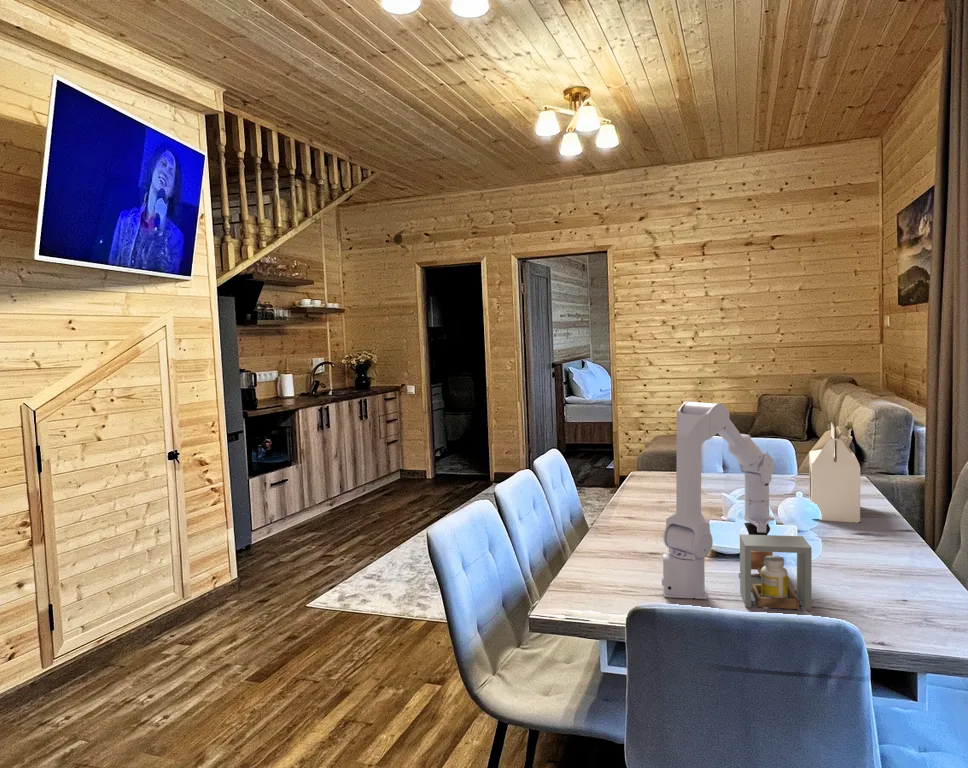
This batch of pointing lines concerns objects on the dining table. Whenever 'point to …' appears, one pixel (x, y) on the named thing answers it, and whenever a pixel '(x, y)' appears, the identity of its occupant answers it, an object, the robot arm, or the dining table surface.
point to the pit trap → (757, 580)
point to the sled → (769, 602)
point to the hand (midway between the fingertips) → (757, 552)
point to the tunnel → (777, 545)
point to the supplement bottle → (774, 578)
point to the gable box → (835, 478)
